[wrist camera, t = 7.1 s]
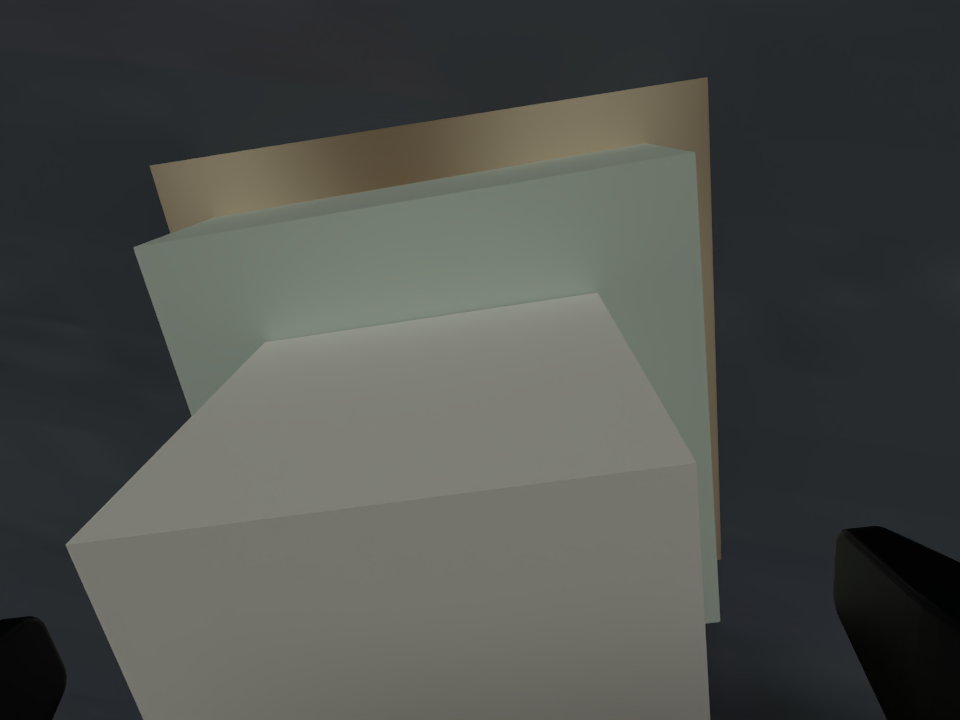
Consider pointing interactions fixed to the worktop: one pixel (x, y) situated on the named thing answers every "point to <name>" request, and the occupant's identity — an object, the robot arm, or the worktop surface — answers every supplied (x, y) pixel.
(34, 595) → the worktop surface
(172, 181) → the oak slab
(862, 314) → the worktop surface
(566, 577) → the cream block
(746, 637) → the worktop surface
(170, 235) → the sage block
